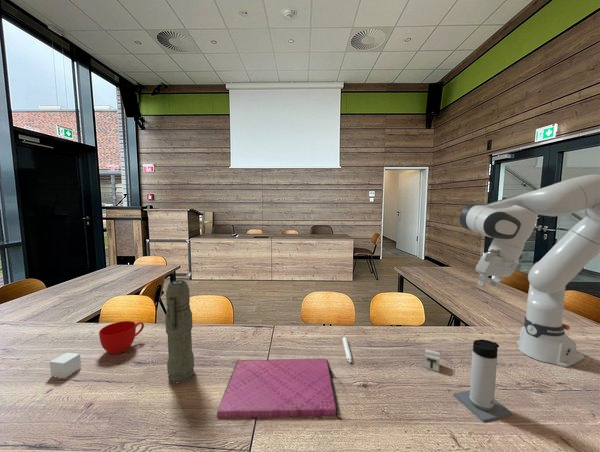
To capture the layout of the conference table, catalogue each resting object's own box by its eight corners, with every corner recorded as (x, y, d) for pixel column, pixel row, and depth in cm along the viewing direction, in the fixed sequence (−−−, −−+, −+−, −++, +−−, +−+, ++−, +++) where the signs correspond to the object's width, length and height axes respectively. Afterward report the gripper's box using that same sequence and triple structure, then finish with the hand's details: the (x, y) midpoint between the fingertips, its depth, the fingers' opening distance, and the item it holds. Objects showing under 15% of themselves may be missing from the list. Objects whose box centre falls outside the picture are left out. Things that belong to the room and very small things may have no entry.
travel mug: (498, 413, 79) (503, 349, 78) (474, 409, 81) (478, 346, 79) (488, 398, 85) (492, 338, 84) (465, 395, 87) (469, 336, 85)
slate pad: (480, 389, 90) (480, 388, 90) (513, 415, 79) (513, 413, 79) (453, 395, 88) (453, 393, 88) (482, 421, 77) (483, 420, 77)
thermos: (197, 364, 104) (194, 276, 101) (189, 384, 92) (185, 286, 89) (173, 366, 103) (170, 277, 100) (162, 387, 91) (157, 287, 88)
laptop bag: (215, 407, 78) (236, 355, 105) (216, 419, 78) (236, 365, 105) (351, 404, 79) (337, 354, 106) (351, 417, 79) (337, 363, 106)
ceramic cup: (152, 343, 119) (150, 322, 118) (109, 362, 105) (107, 338, 104) (137, 335, 126) (136, 315, 125) (94, 352, 112) (93, 330, 111)
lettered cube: (425, 361, 106) (425, 349, 106) (439, 364, 104) (439, 352, 104) (424, 368, 102) (424, 356, 101) (438, 372, 99) (439, 359, 99)
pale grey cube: (81, 368, 101) (80, 353, 101) (64, 379, 95) (63, 363, 95) (67, 367, 102) (66, 352, 102) (51, 377, 96) (49, 361, 96)
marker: (352, 365, 104) (353, 359, 104) (347, 365, 104) (347, 359, 104) (346, 341, 122) (346, 336, 122) (342, 341, 122) (342, 336, 122)
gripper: (500, 252, 86) (481, 290, 89) (525, 256, 97) (508, 290, 100) (480, 244, 91) (463, 280, 94) (506, 249, 102) (490, 281, 105)
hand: (486, 285), depth 97 cm, fingers open, 8 cm apart
